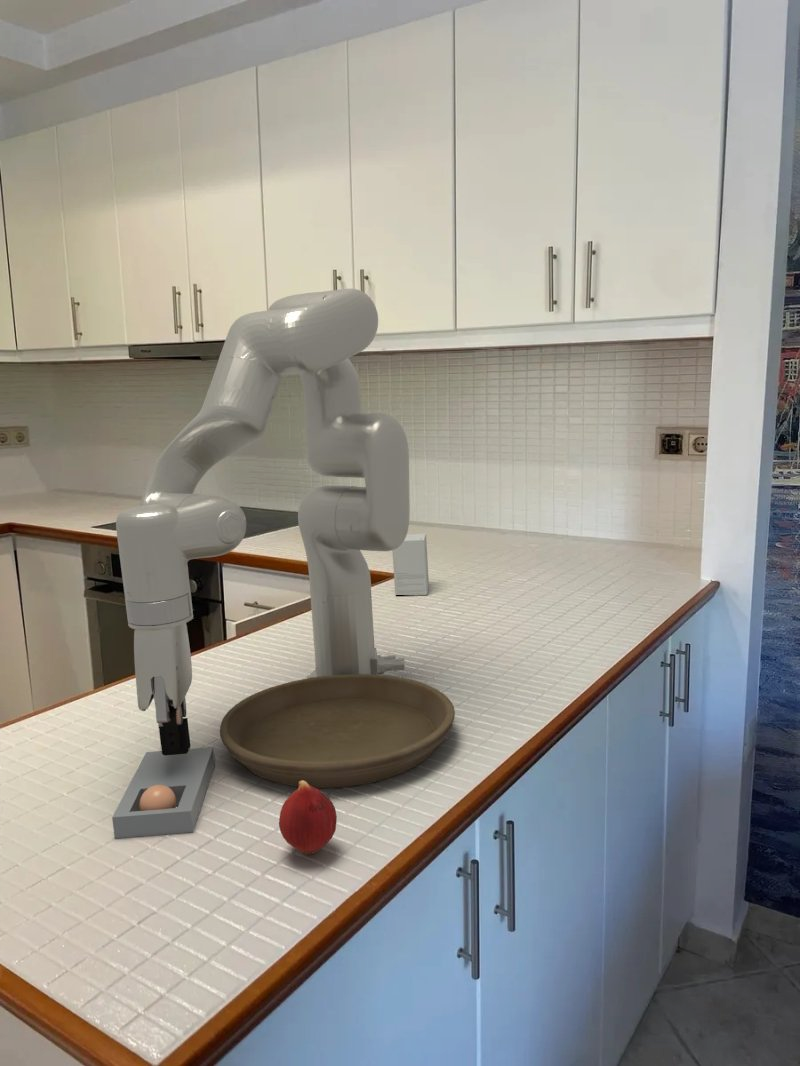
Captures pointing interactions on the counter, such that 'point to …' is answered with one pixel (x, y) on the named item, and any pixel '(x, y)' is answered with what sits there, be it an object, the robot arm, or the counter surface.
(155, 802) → the ball
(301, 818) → the onion
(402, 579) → the supplement box
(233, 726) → the plant saucer
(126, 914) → the counter surface
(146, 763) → the block
